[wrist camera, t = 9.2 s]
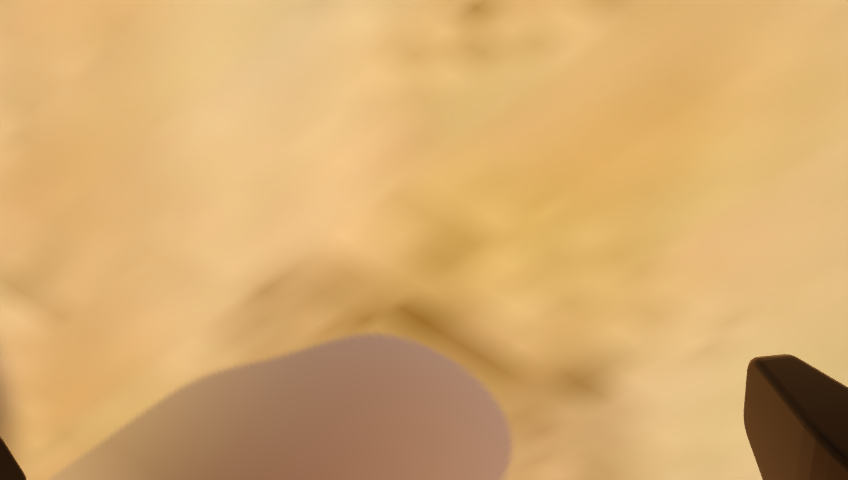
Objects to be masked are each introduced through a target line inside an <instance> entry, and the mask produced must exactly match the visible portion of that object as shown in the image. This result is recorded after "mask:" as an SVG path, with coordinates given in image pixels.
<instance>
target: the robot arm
mask: <svg viewBox="0 0 848 480" xmlns="http://www.w3.org/2000/svg"><path fill="white" fill-rule="evenodd" d="M744 424H745V429H746V433H747V436H748V439H749V442H750V445H751V448H752V451H753V453H754V456H755V459H756V462H757V464H758V467H759V470H760V473H761V476H762V478H763V480H848V387H846V386H845V385H843V384H841V383H839V382H838V381H836V380H834V379H833V378H831V377H829V376H828V375H826V374H824V373H822V372H821V371H819V370H817V369H816V368H814V367H812V366H811V365H809V364H807V363H806V362H804V361H802V360H800V359H799V358H797V357H795V356H792V355H786V354H783V355H773V356H763V357H756V358H754V359H752V360H751V361H750V363H749V365H748V369H747V379H746V391H745V403H744ZM0 480H26V476H25V474H24V473H23V471H22V469H21V468H20V466H19V465H18V463H17V461H16V460H15V458H14V457H13V455H12V454H11V452H10V450H9V449H8V447H7V446H6V444H5V442H4V441H3V439H2V438H1V437H0Z"/></svg>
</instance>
